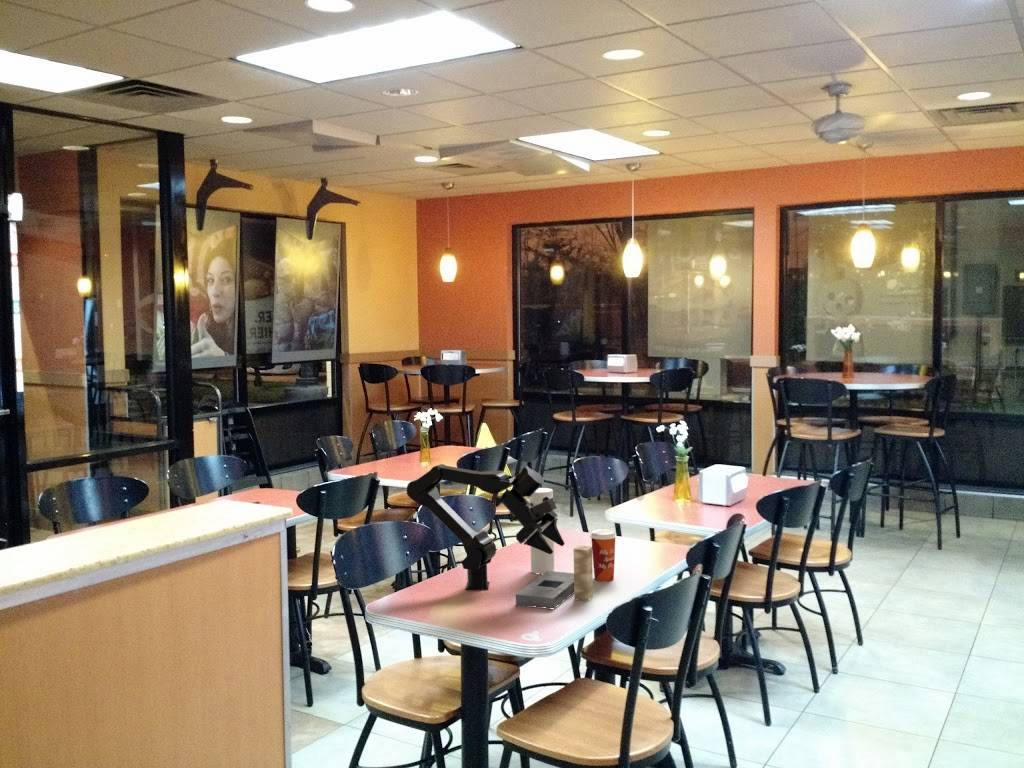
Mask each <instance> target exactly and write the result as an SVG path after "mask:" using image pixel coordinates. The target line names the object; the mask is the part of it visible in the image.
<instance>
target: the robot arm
mask: <svg viewBox="0 0 1024 768" xmlns="http://www.w3.org/2000/svg"><path fill="white" fill-rule="evenodd" d="M442 481H445V482H446V481H447V482H453V483H457V484H462V485H467V486H471V487H473V486H474V487H476V488H478V489H479V490H480V491H482V492H486V493H488V494H491V495H498V494H500V493H501V492H503V493H502V494H501V495H498V496H495V498H494V499H495V503H494V504H495V505H494V506H495V507H496V508H498V507H499V506H501V505H503V506H504V507H505V508H506V509H507V511H509V512H510V513H511V515H512V516H513V517H512V520H513V521H514V522H516V521H518V522H519V524H521V526H522V528H521V529H520V530H519V531H518V532H517V533H516V534H515V535H516V538H515V539H516V541H517V542H518V543H519V544H520V545H522V544H523V545H524V546H525V545H527V546H528V547H529V546H530V548H531V547H534V548H536V549H539V550H541V551H543V552H546V553H548V554H552V553H553V551H552V549H551V547H550V546H549V545H548V543H547V542H546V541H545V539H544V538H543V536H542V535H544V536H546V537H547V538H549V539H551V540H552V541H554V544H557V545H558V546H560V547H563V546H564V545H565V540H564V539H563V537H562V536H561V533H560V531H559V529H558V527H557V524H558V523H557V522H558V517H559V516H558V514H557V513H556V512H555V510H556V509H557V506H556V503H557V501H556V499H554V497H553V498H551V497H550V496H547V497H544V498H543V502H542V503H540V504H537V505H536V504H535V503H534V502H531V503H529V501H528V500H527V498H525V497H528V498H529V497H530V496H532V494H533V493H534V492H535V491H536V490H537V489H538V488H541V486H542V485H543V484H544V481H545V480H544V478H543V476H542V475H541V474H540V472H538V471H535V470H534V469H532V468H530V467H529V466H528V465H527V466H524V467H523V468H522V469H521V471H520V472H519V473H518V474H517V475H516V476H514V475H509V474H507V472H506V471H504V470H487V471H486V470H485V471H477V470H472V469H466V468H462V467H456V466H455V467H454V466H449V465H446V464H442V463H441V464H437V465H435V466H433V467H431V469H429V471H427V472H426V473H425V474H423V475H421V476H420V477H419V478H417V479H414V480H411V481H409V482H408V483H407V486H406V494H407V497H408V498H409V499H410V500H412V501H414V502H415V503H416V504H418V506H419V505H420V506H422V507H424V508H427V509H428V510H429V511H430V512H431V513H432V514H433V515H434V516H435V517H436V518H437V519H439V521H440V522H441V523H442V524H443V525H444V526H445V527H446V528H447V529H448V530H449V531H450V532H451V533H452V534H453V535H454V536H455V537H456V538H457V539H458V540H459V541H460V542H461V544H462V546H463V549H464V553H465V554H466V556H465V558H464V559H463V560H461V562H460V563H461V565H462V568H463V570H467V582H466V585H465V590H467V591H469V590H471V591H479V590H480V591H481V590H489V588H490V581H488V564H490V563H491V562H492V558H495V556H496V553H497V546H496V543H495V542H494V538H491V536H489V534H487V532H486V531H485V530H482V531H480V532H477V531H476V530H474V529H473V528H472V527H470V525H468V524H467V522H466V521H465V520H463V518H462V517H460V516H459V514H458V513H456V511H454V509H452V507H451V506H449V504H447V502H446V501H445V500H443V498H442V497H441V495H440V493H439V489H438V487H437V486H438V485H439V484H440V483H441V482H442ZM511 487H512V488H511ZM509 488H511V489H510V490H509Z"/></svg>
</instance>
